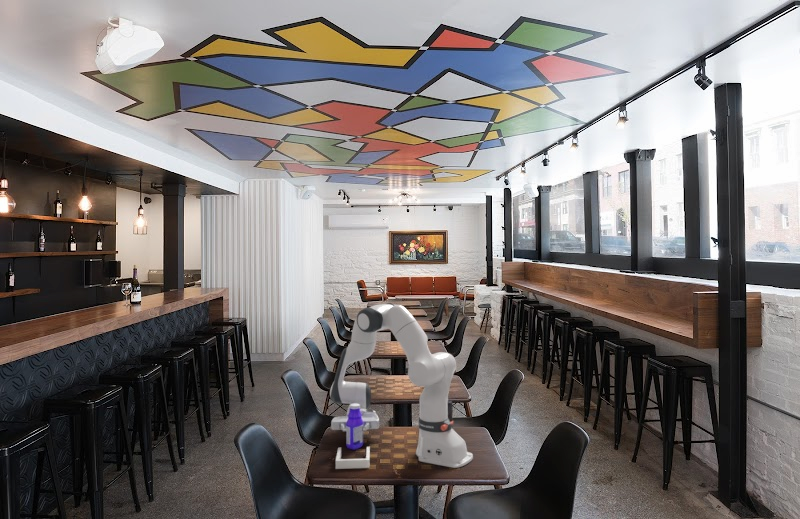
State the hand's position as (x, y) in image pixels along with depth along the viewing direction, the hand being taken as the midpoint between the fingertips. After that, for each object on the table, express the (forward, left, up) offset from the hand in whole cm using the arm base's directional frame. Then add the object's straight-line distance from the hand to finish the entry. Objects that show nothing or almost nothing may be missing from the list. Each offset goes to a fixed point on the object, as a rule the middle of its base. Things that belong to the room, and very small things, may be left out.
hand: (354, 429), depth 196 cm
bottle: (+1, -1, -8) cm, 8 cm away
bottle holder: (-8, +10, -8) cm, 15 cm away
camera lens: (-21, -34, -8) cm, 41 cm away
